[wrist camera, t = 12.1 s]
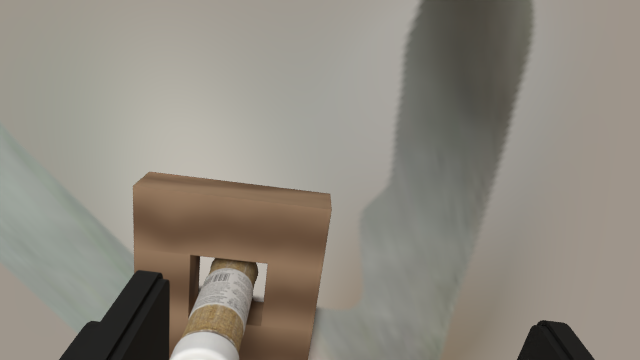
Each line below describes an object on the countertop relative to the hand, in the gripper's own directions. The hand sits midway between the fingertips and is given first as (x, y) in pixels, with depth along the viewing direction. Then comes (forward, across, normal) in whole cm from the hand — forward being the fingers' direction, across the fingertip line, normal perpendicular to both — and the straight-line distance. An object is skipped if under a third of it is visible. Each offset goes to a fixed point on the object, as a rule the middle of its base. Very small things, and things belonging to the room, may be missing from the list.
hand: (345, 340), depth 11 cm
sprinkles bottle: (+25, +7, +16) cm, 31 cm away
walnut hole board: (+25, +7, +17) cm, 31 cm away
